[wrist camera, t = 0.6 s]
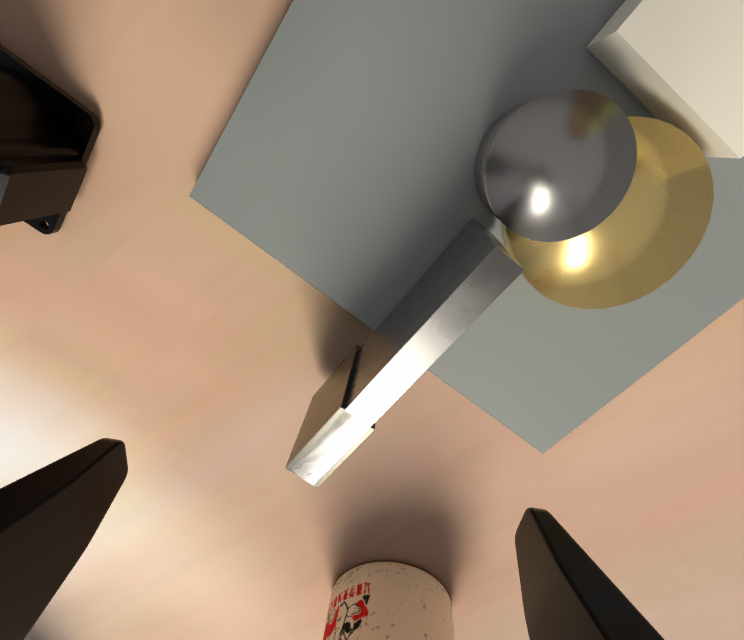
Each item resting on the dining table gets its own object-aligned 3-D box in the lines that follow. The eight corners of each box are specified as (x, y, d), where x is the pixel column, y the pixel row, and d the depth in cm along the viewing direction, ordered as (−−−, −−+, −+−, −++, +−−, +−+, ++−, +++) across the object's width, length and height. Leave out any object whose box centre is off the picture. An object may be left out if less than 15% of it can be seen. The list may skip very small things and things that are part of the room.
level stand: (197, 193, 19) (151, 205, 16) (699, -736, 9) (862, -1232, 6) (538, 443, 23) (560, 495, 19) (1139, -33, 13) (1388, -93, 10)
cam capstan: (289, 377, 22) (252, 447, 17) (559, 40, 15) (634, -11, 10) (419, 465, 23) (421, 552, 18) (718, 197, 16) (852, 221, 11)
